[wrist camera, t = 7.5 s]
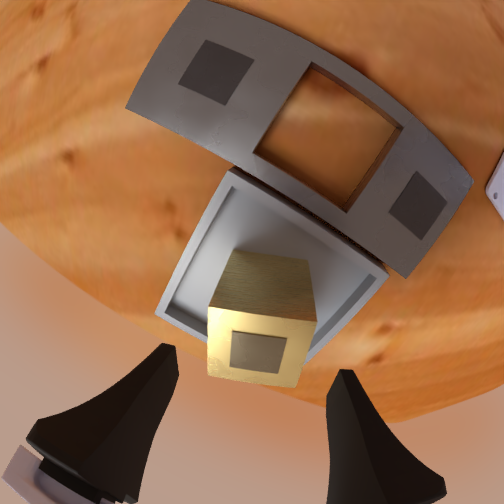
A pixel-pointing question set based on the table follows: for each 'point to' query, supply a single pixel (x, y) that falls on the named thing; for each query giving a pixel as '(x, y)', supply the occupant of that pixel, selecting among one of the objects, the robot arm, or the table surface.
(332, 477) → the robot arm
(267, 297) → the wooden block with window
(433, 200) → the metal plate with cutout
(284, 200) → the parts tray
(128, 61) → the table surface
